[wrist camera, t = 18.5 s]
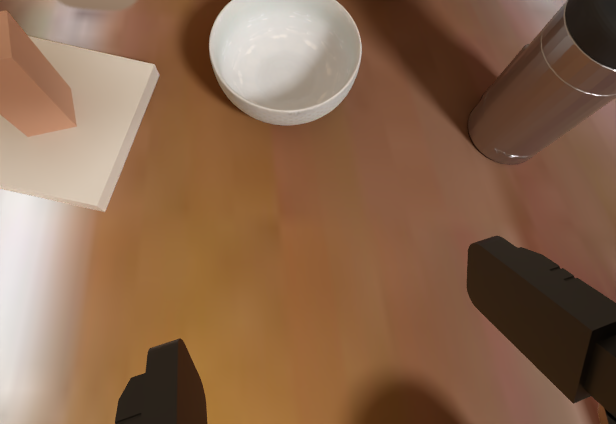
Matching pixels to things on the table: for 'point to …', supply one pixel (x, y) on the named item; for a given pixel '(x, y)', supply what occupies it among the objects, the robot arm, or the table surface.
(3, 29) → the terracotta block
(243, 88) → the cereal bowl
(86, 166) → the off-white board
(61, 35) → the table surface
